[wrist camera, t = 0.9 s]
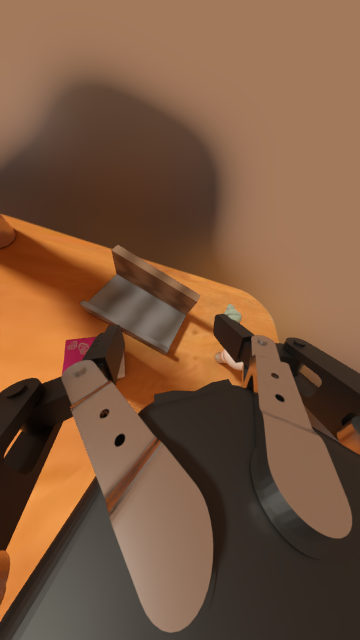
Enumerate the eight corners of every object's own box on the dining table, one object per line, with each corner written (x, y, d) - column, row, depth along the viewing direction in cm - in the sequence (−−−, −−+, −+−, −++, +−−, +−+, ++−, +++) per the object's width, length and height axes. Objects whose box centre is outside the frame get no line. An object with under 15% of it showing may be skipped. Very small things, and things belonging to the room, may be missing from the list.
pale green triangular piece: (217, 310, 39) (231, 298, 33) (228, 314, 40) (244, 303, 34) (215, 334, 36) (230, 326, 30) (227, 338, 37) (245, 331, 31)
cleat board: (85, 311, 28) (65, 286, 20) (122, 274, 34) (117, 244, 26) (164, 354, 30) (174, 348, 22) (186, 312, 36) (200, 295, 28)
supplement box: (124, 348, 28) (116, 334, 18) (125, 377, 26) (117, 380, 16) (93, 352, 26) (64, 339, 16) (92, 384, 24) (58, 392, 14)
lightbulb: (230, 370, 33) (269, 370, 23) (208, 371, 31) (240, 370, 22) (227, 346, 35) (260, 336, 26) (206, 345, 34) (234, 334, 24)
